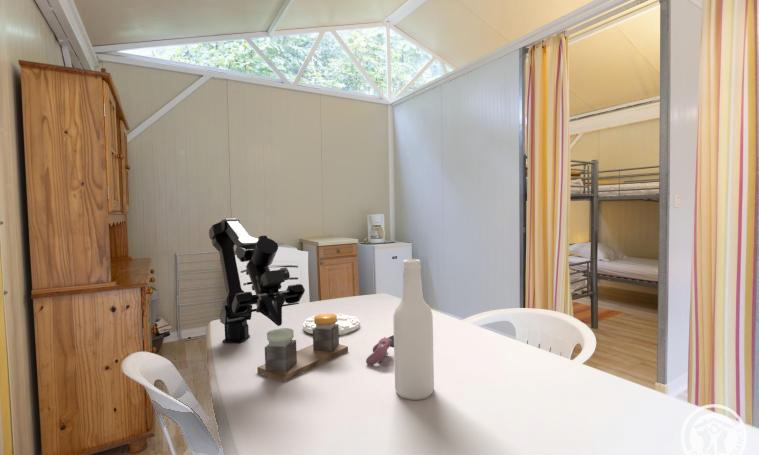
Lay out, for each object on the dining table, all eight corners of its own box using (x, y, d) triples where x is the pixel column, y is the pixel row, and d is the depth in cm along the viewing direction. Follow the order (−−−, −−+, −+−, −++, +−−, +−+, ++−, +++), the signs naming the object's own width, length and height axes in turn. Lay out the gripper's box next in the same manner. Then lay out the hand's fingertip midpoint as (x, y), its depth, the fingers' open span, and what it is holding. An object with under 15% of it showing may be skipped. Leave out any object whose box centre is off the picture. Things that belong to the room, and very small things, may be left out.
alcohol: (439, 398, 83) (436, 261, 81) (399, 403, 81) (396, 263, 80) (427, 381, 91) (425, 256, 90) (391, 384, 90) (388, 258, 89)
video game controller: (379, 372, 101) (390, 349, 100) (364, 363, 102) (375, 341, 101) (386, 357, 111) (396, 337, 110) (372, 350, 111) (382, 329, 110)
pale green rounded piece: (263, 365, 96) (262, 336, 96) (274, 355, 102) (273, 327, 102) (288, 366, 95) (287, 336, 95) (298, 356, 101) (297, 328, 101)
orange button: (311, 345, 109) (311, 319, 109) (318, 337, 116) (318, 313, 115) (334, 346, 108) (333, 320, 108) (340, 338, 115) (339, 313, 114)
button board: (256, 373, 99) (255, 344, 98) (324, 344, 118) (323, 320, 118) (281, 382, 93) (280, 352, 92) (348, 351, 112) (347, 326, 112)
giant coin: (370, 325, 139) (370, 317, 138) (336, 341, 122) (336, 332, 122) (328, 317, 149) (327, 310, 149) (291, 331, 133) (291, 323, 133)
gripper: (233, 262, 96) (251, 314, 88) (300, 255, 107) (322, 300, 99) (224, 288, 102) (241, 339, 94) (288, 279, 114) (308, 323, 106)
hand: (280, 324), depth 98 cm, fingers closed
